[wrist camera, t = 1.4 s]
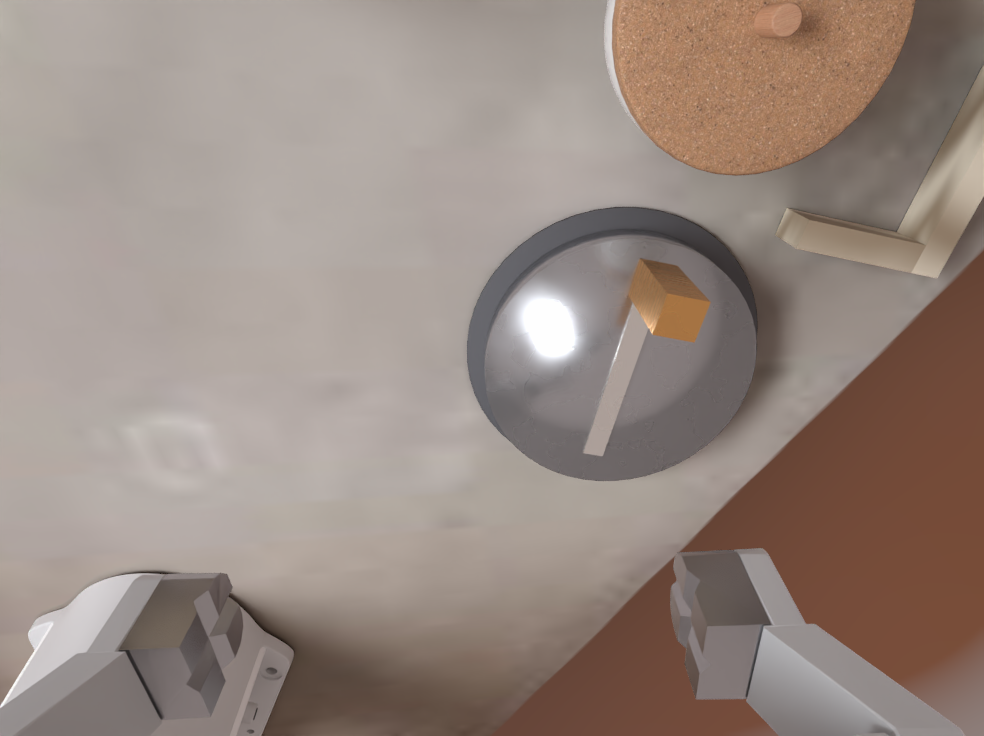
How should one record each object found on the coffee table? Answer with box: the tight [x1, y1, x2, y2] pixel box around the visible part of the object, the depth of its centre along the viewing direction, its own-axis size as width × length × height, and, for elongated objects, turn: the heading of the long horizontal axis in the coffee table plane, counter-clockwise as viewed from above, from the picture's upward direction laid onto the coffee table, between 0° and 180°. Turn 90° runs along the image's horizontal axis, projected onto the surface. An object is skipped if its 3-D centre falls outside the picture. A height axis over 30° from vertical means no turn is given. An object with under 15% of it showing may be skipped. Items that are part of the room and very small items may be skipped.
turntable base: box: [467, 207, 757, 442], centre depth 36 cm, size 17×17×1 cm
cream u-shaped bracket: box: [775, 65, 984, 278], centre depth 29 cm, size 17×8×2 cm, turn 168°
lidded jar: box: [604, 0, 916, 175], centre depth 25 cm, size 11×11×9 cm
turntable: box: [484, 229, 757, 481], centre depth 33 cm, size 15×15×7 cm
